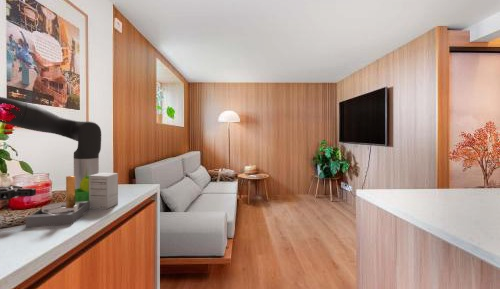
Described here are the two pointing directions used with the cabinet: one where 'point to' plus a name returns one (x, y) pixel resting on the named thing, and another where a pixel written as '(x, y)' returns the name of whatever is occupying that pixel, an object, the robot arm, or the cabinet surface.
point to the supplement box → (103, 190)
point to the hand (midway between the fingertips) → (34, 192)
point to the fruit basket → (82, 190)
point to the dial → (70, 200)
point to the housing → (57, 216)
